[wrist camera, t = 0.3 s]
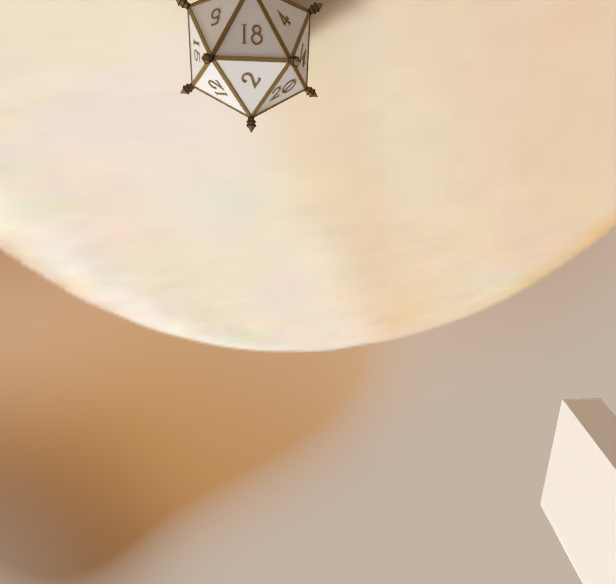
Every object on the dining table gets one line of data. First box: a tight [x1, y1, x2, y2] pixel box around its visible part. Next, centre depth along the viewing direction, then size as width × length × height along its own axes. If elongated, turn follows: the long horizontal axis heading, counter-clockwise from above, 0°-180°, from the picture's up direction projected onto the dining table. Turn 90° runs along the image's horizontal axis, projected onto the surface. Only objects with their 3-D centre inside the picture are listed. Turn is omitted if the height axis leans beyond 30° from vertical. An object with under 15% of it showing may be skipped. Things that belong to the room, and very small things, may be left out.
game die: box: [176, 0, 322, 133], centre depth 34 cm, size 9×8×10 cm
